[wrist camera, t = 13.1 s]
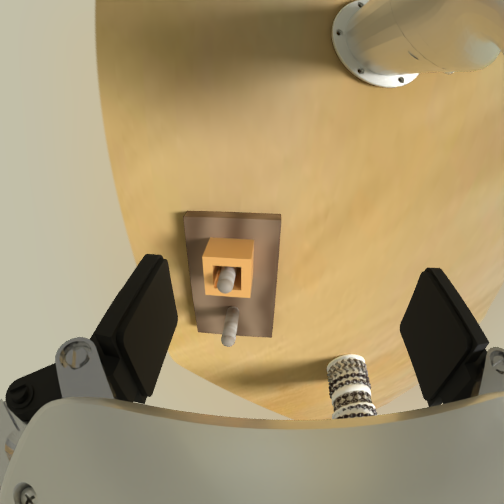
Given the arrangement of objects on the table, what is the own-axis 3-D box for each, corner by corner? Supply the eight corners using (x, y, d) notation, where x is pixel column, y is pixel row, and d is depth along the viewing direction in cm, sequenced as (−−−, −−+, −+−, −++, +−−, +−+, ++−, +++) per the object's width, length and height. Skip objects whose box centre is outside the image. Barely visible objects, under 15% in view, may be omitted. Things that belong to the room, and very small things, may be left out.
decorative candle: (352, 346, 51) (373, 464, 30) (374, 363, 54) (395, 467, 33) (316, 367, 55) (323, 478, 34) (340, 382, 58) (351, 482, 37)
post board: (280, 214, 39) (282, 249, 31) (271, 329, 50) (270, 371, 42) (187, 211, 39) (165, 243, 31) (200, 324, 51) (188, 364, 42)
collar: (254, 239, 39) (251, 259, 34) (252, 276, 42) (250, 298, 38) (210, 237, 39) (202, 256, 35) (212, 273, 42) (205, 294, 38)
